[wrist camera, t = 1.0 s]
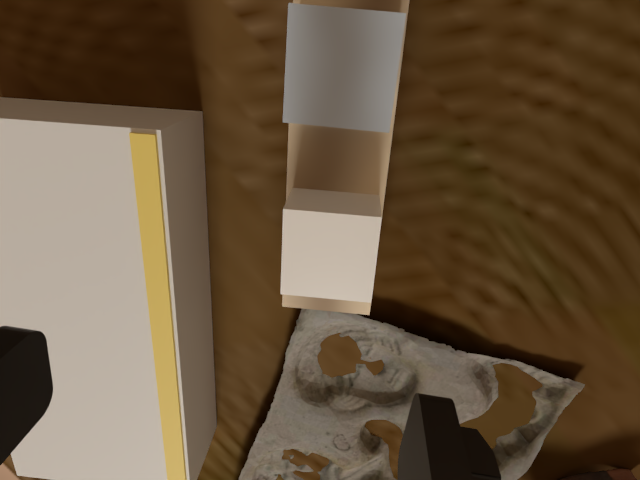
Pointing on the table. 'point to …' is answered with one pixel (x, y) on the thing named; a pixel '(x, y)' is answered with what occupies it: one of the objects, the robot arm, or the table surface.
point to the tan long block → (341, 157)
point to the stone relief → (385, 400)
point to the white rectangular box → (110, 285)
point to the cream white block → (330, 244)
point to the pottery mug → (604, 475)
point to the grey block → (341, 66)
